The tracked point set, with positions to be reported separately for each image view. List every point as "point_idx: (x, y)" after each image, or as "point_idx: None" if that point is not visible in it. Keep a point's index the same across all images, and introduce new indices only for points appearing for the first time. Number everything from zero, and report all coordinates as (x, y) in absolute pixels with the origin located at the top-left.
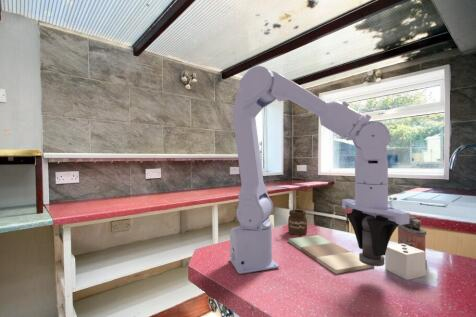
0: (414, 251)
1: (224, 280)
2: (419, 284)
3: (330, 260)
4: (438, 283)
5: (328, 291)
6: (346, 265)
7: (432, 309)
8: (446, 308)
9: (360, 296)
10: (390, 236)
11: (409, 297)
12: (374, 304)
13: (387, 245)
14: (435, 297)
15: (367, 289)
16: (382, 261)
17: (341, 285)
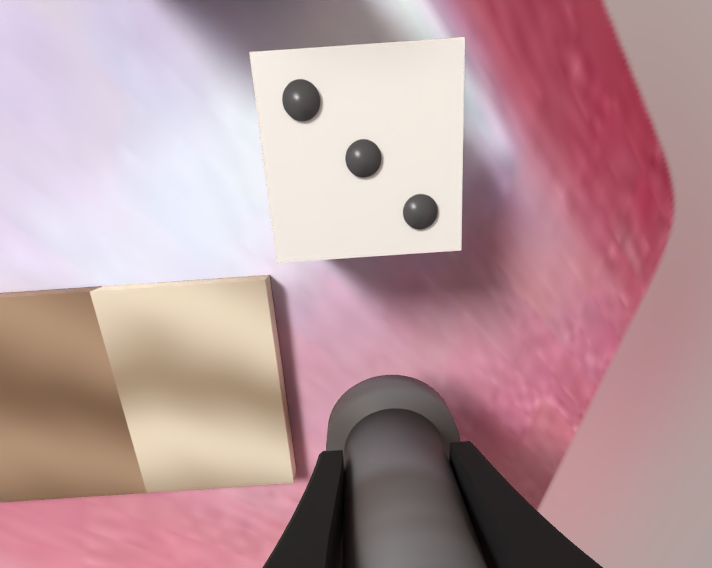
0: (434, 133)
1: None
2: (473, 207)
3: (192, 453)
4: (498, 104)
5: None
6: (259, 418)
7: (612, 324)
8: (631, 272)
9: None
10: (580, 555)
11: (529, 336)
12: (514, 470)
13: (511, 486)
14: (569, 241)
15: None
16: (455, 428)
17: None
